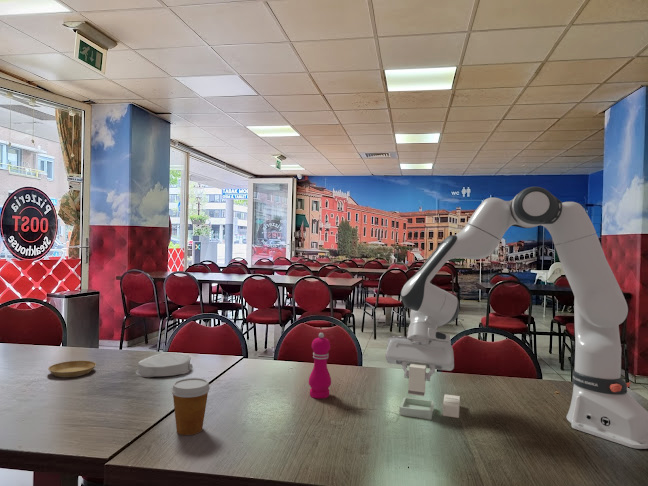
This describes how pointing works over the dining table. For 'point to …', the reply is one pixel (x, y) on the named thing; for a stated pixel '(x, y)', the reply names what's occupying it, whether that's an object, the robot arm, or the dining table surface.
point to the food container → (164, 365)
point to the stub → (417, 379)
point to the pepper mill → (320, 368)
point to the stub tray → (417, 408)
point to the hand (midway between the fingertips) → (417, 378)
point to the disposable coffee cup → (190, 404)
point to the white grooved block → (451, 405)
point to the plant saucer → (72, 368)
